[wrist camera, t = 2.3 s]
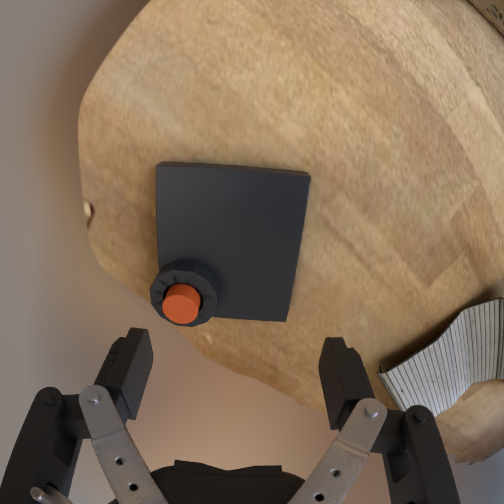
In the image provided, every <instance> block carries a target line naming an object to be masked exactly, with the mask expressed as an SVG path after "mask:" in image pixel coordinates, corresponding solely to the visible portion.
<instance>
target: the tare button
mask: <svg viewBox="0 0 504 504" xmlns="http://www.w3.org/2000/svg"><path fill="white" fill-rule="evenodd" d="M200 300H201V299H200V295H199V293H198V292H197V290H196V289H195V288H193V287H192V286H190V285H187V284H175V285H173V286H172V287H170V288H169V290H168V292H167V294H166V297H165V299H164V302H163V305H162V308H163V312H164V314H165V315H166V316H167V318H169V319H170V320H171V321H173V322H176V323H180V324H186V323H190V322H192V321H193V320H194V319H195V318H196V317H197V314H198V310H199V306H200Z"/></svg>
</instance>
